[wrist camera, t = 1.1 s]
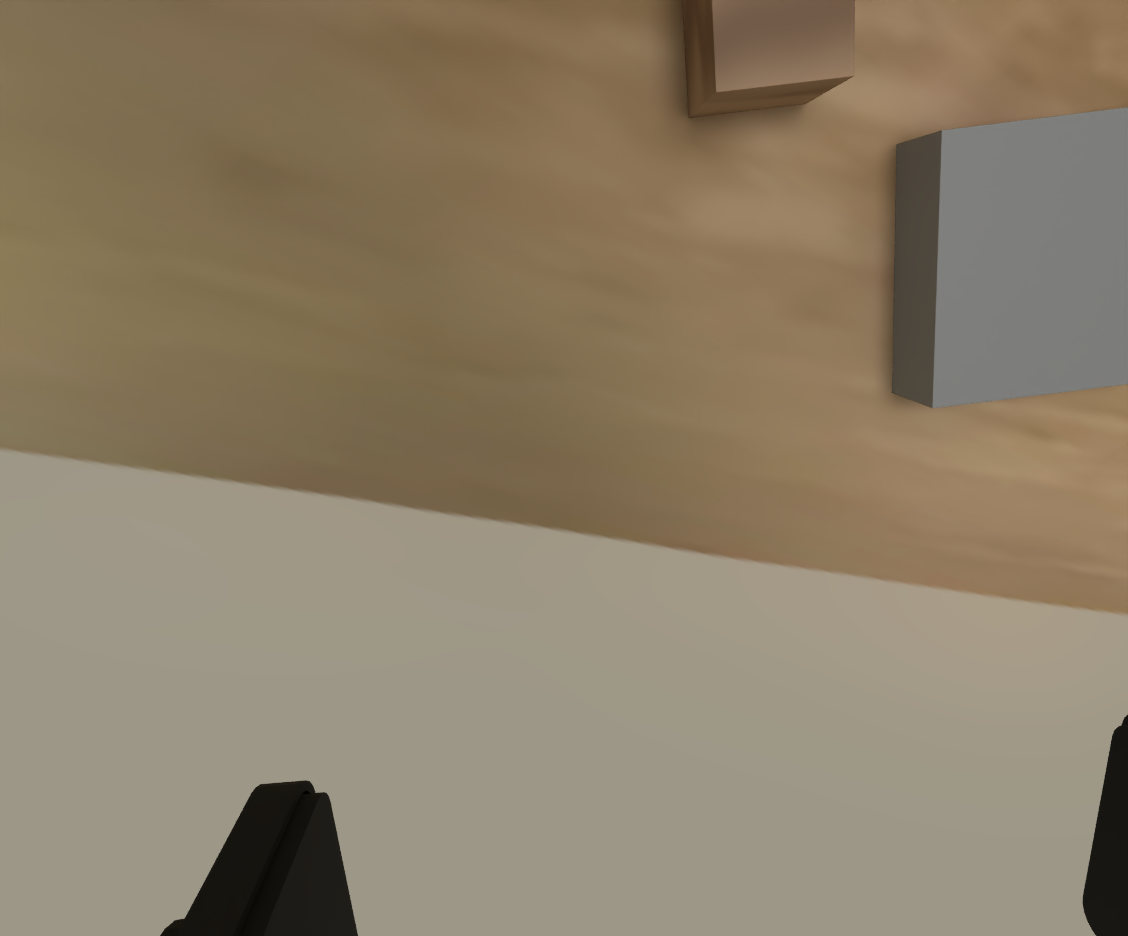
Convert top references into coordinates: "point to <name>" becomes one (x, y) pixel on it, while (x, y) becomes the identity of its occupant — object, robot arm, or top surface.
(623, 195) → the top surface
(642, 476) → the top surface
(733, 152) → the top surface
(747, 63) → the walnut cube
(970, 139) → the base block
